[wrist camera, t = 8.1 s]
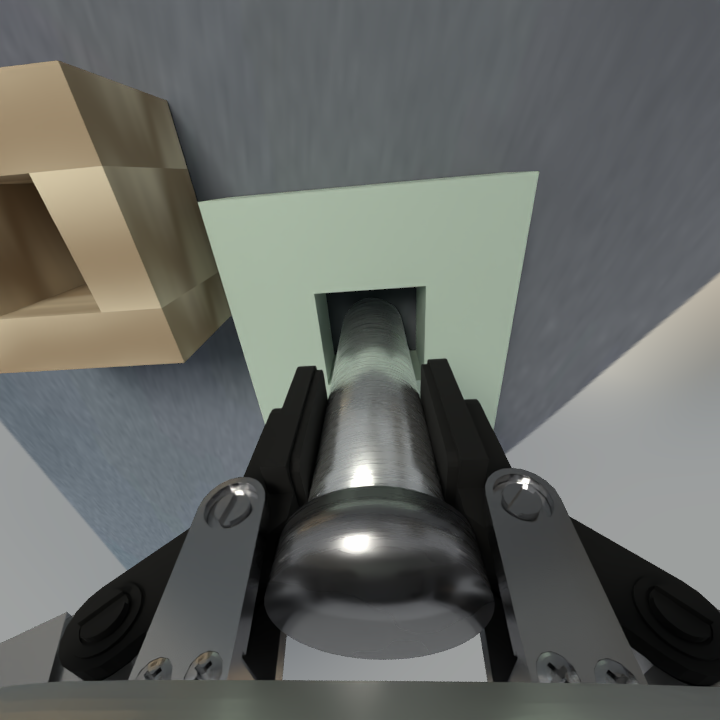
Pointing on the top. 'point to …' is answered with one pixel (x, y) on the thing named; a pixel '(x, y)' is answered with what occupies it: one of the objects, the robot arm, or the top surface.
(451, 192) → the dock
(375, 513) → the pin
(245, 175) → the top surface
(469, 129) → the top surface
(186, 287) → the frame
